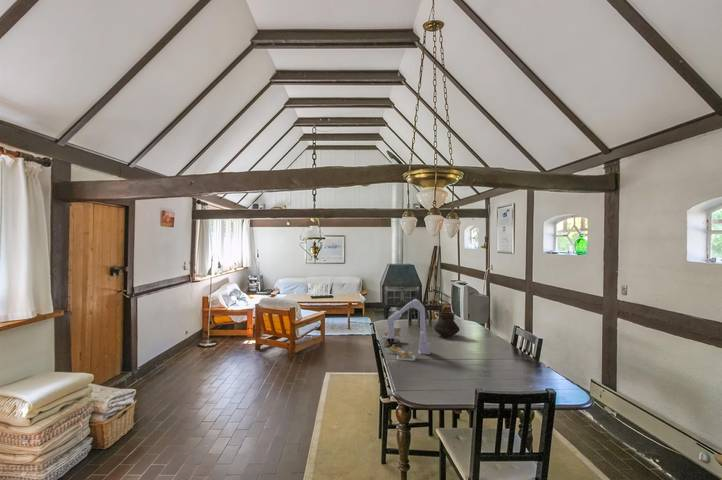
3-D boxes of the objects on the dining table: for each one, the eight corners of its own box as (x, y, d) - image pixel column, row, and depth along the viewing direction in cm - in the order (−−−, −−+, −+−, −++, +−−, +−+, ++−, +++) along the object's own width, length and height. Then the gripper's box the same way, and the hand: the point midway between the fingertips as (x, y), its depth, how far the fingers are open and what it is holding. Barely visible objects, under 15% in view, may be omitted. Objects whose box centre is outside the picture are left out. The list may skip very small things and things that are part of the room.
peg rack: (415, 357, 292) (415, 352, 292) (415, 360, 283) (415, 355, 283) (397, 356, 294) (397, 351, 294) (396, 359, 285) (396, 354, 285)
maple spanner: (411, 356, 290) (411, 351, 290) (411, 358, 286) (411, 352, 286) (397, 355, 292) (397, 350, 292) (397, 357, 287) (397, 352, 287)
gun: (385, 347, 321) (386, 329, 322) (382, 346, 323) (383, 328, 324) (400, 343, 340) (401, 327, 341) (397, 343, 342) (398, 326, 343)
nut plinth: (402, 351, 309) (402, 349, 309) (401, 354, 300) (401, 353, 300) (391, 350, 310) (391, 349, 310) (390, 353, 301) (390, 352, 301)
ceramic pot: (464, 337, 355) (464, 314, 355) (446, 340, 343) (446, 316, 343) (446, 332, 376) (446, 310, 376) (428, 335, 364) (428, 312, 364)
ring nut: (401, 350, 307) (401, 346, 307) (399, 352, 301) (399, 348, 301) (391, 349, 310) (391, 345, 310) (389, 351, 304) (389, 347, 304)
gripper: (399, 330, 313) (399, 346, 312) (382, 329, 315) (382, 345, 314) (399, 332, 306) (399, 349, 305) (381, 331, 308) (381, 348, 307)
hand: (390, 347), depth 309 cm, fingers closed
